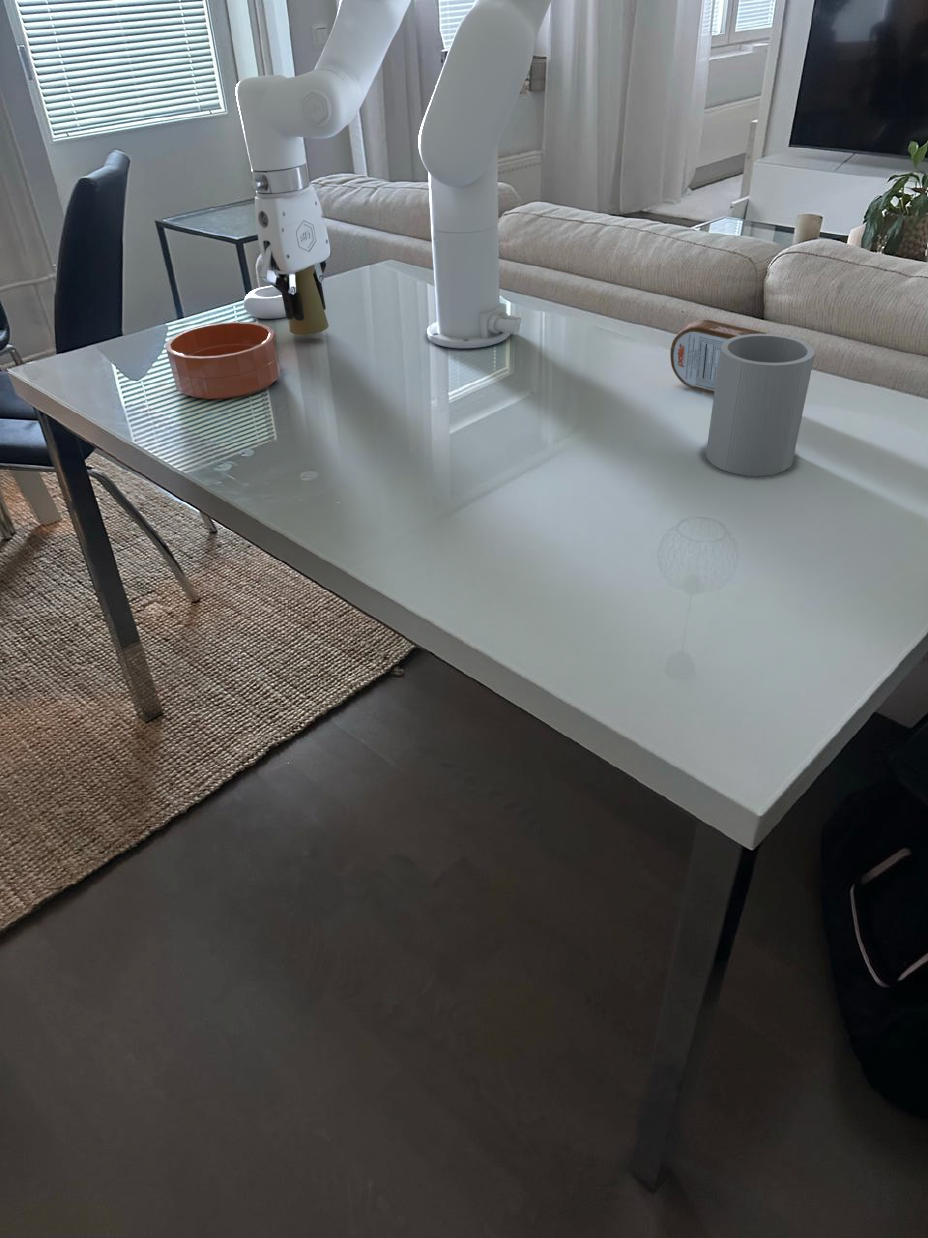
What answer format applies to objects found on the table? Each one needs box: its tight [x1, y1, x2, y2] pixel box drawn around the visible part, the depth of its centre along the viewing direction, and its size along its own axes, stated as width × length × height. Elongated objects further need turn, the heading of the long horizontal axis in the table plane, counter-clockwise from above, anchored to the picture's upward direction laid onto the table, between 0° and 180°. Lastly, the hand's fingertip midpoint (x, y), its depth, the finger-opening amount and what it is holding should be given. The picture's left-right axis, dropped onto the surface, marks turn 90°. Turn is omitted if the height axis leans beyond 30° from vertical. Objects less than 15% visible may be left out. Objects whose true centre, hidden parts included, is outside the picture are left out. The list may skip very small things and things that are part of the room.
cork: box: [284, 265, 329, 336], centre depth 127 cm, size 6×6×11 cm
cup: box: [705, 333, 816, 477], centre depth 90 cm, size 9×9×12 cm
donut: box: [243, 285, 287, 320], centre depth 142 cm, size 10×4×10 cm
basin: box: [165, 321, 282, 400], centre depth 117 cm, size 14×14×6 cm
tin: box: [669, 319, 768, 395], centre depth 105 cm, size 15×3×8 cm, turn 47°
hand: (306, 312), depth 129 cm, fingers closed on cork, 4 cm apart
